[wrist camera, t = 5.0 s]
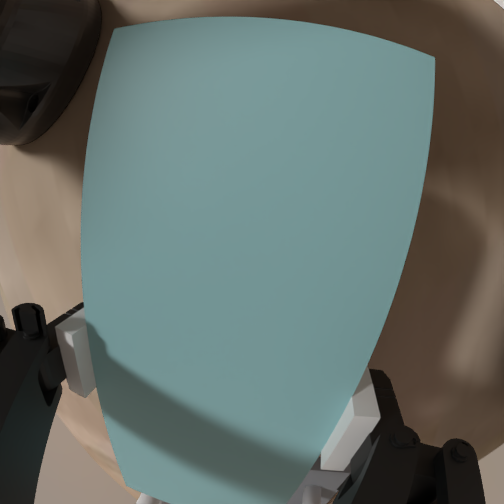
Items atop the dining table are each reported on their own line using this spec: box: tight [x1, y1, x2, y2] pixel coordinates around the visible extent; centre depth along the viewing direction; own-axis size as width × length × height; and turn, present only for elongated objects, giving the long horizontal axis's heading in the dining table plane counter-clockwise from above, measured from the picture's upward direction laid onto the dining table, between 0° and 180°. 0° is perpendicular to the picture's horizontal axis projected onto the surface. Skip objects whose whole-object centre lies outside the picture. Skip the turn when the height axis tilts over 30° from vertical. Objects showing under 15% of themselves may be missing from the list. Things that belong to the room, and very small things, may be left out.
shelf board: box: [81, 17, 435, 504], centre depth 9 cm, size 20×8×2 cm, turn 170°
